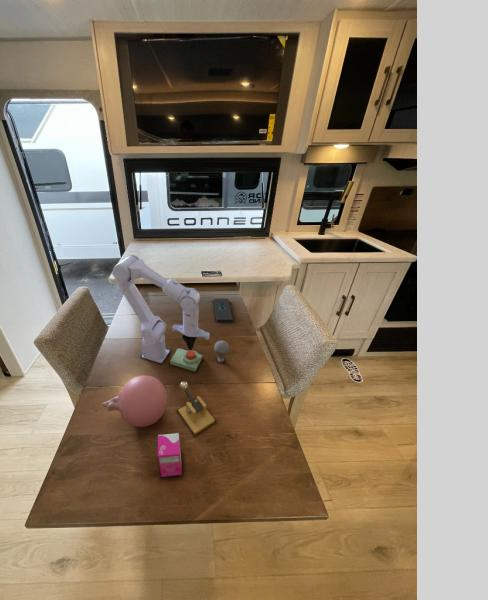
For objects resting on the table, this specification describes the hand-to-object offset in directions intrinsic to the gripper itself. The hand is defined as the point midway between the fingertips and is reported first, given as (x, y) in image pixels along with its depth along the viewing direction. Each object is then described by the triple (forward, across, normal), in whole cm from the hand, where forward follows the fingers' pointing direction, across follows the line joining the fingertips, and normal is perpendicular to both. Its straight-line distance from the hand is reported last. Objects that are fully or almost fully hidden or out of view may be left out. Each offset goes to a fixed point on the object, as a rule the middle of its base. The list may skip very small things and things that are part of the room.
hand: (190, 348), depth 104 cm
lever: (+3, -7, +20) cm, 21 cm away
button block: (+8, +2, 0) cm, 8 cm away
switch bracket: (+8, -11, +22) cm, 26 cm away
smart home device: (+8, -1, -41) cm, 42 cm away
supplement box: (+8, -10, +39) cm, 41 cm away
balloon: (+8, +7, +29) cm, 31 cm away
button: (+5, 0, 0) cm, 5 cm away
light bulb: (+8, -11, -6) cm, 15 cm away
